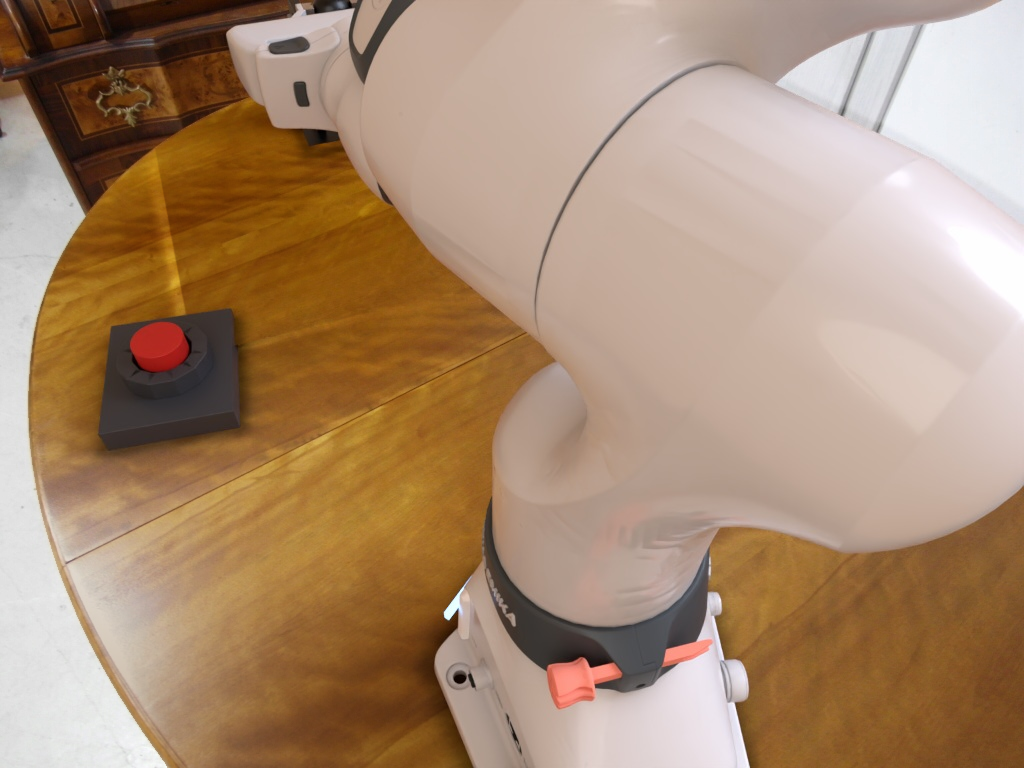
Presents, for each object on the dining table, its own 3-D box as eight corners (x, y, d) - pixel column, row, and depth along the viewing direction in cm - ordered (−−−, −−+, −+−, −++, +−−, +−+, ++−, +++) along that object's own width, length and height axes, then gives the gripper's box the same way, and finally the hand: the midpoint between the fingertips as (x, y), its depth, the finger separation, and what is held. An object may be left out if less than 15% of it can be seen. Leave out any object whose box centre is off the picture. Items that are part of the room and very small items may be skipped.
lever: (358, 29, 72) (349, -14, 71) (320, 35, 71) (310, -9, 70) (336, 33, 84) (328, -4, 82) (303, 38, 83) (294, 1, 82)
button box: (240, 427, 62) (227, 395, 59) (108, 451, 60) (88, 419, 57) (237, 325, 70) (225, 292, 67) (120, 343, 68) (102, 310, 65)
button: (189, 368, 61) (182, 352, 60) (136, 376, 61) (128, 361, 59) (189, 333, 64) (183, 317, 63) (138, 341, 63) (131, 325, 62)
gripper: (484, 18, 65) (432, -43, 73) (236, 58, 60) (210, -13, 68) (484, 89, 70) (436, 24, 78) (255, 132, 64) (229, 57, 73)
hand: (329, 7), depth 73 cm, fingers closed on lever, 3 cm apart
